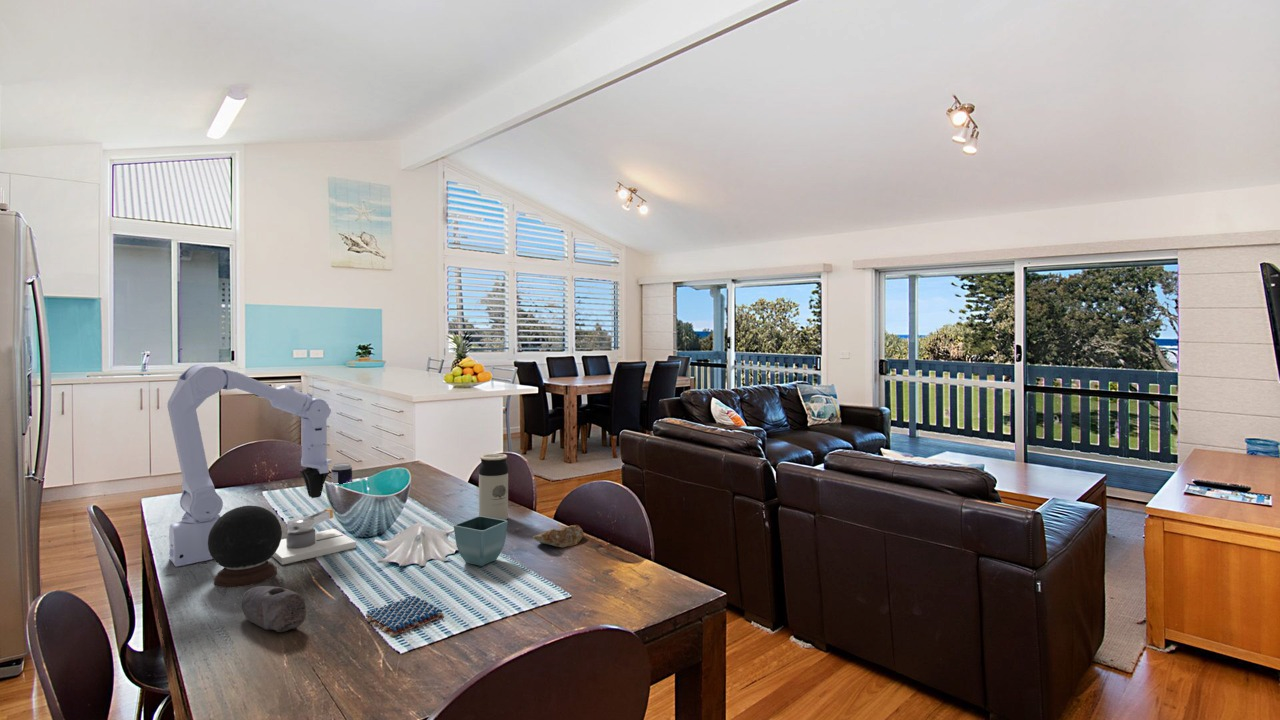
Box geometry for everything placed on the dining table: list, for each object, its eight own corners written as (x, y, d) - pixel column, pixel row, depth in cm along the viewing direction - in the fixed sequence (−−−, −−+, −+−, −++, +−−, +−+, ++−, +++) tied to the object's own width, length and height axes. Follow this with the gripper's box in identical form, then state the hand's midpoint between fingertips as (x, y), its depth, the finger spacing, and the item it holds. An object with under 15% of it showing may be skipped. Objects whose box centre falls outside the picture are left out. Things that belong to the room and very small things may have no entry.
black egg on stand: (296, 569, 134) (296, 501, 134) (242, 592, 121) (242, 518, 121) (249, 562, 138) (248, 496, 137) (192, 585, 125) (191, 512, 124)
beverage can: (346, 506, 184) (346, 466, 183) (327, 505, 184) (327, 466, 184) (355, 501, 190) (355, 462, 189) (337, 500, 190) (337, 462, 189)
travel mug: (476, 517, 174) (476, 454, 174) (504, 514, 177) (504, 452, 177) (481, 525, 167) (481, 459, 166) (510, 521, 170) (511, 457, 170)
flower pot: (452, 564, 138) (452, 524, 138) (479, 552, 146) (479, 515, 145) (482, 571, 134) (482, 531, 134) (508, 559, 142) (508, 520, 141)
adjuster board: (282, 564, 136) (282, 544, 136) (263, 549, 146) (263, 530, 146) (356, 547, 148) (355, 529, 148) (334, 534, 158) (334, 517, 158)
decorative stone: (523, 527, 150) (564, 519, 162) (522, 545, 150) (563, 536, 162) (552, 533, 145) (592, 525, 157) (551, 552, 144) (591, 543, 156)
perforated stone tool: (230, 621, 109) (229, 583, 109) (260, 610, 114) (259, 573, 114) (279, 642, 102) (279, 601, 102) (309, 629, 107) (309, 590, 107)
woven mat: (415, 602, 119) (415, 592, 119) (446, 619, 112) (446, 608, 112) (361, 621, 111) (361, 610, 111) (391, 640, 104) (391, 629, 104)
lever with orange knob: (303, 534, 142) (303, 524, 142) (281, 533, 143) (281, 523, 143) (341, 517, 156) (341, 508, 156) (321, 516, 157) (321, 507, 157)
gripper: (341, 446, 156) (341, 499, 157) (320, 439, 166) (321, 489, 167) (311, 449, 151) (311, 504, 151) (292, 442, 161) (292, 493, 162)
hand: (314, 496), depth 159 cm, fingers closed
